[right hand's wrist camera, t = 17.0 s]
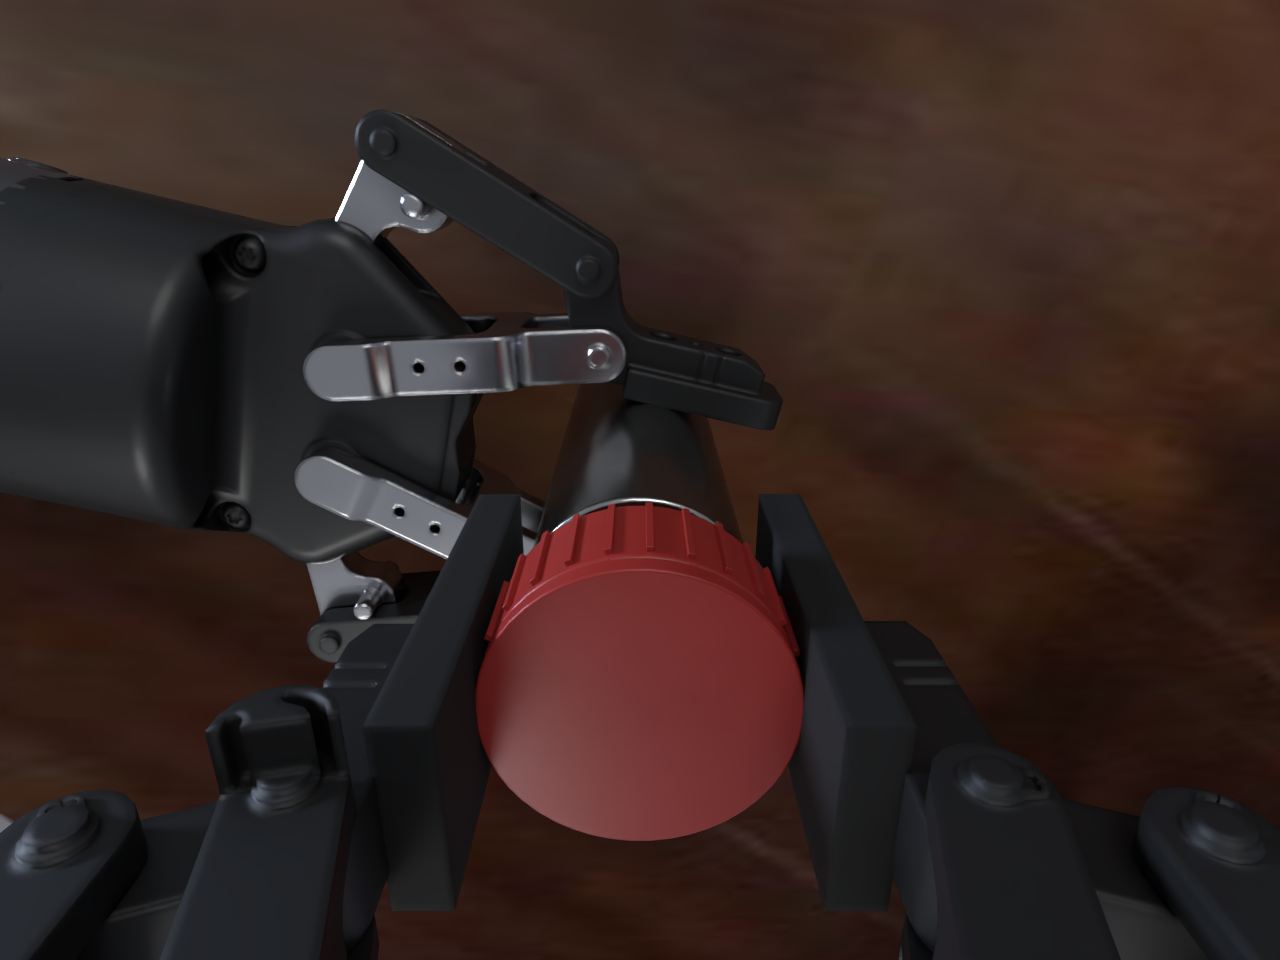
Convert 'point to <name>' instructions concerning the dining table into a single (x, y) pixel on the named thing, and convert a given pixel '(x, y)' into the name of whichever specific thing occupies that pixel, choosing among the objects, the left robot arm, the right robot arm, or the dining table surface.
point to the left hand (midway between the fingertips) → (744, 490)
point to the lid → (639, 676)
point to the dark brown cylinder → (635, 461)
